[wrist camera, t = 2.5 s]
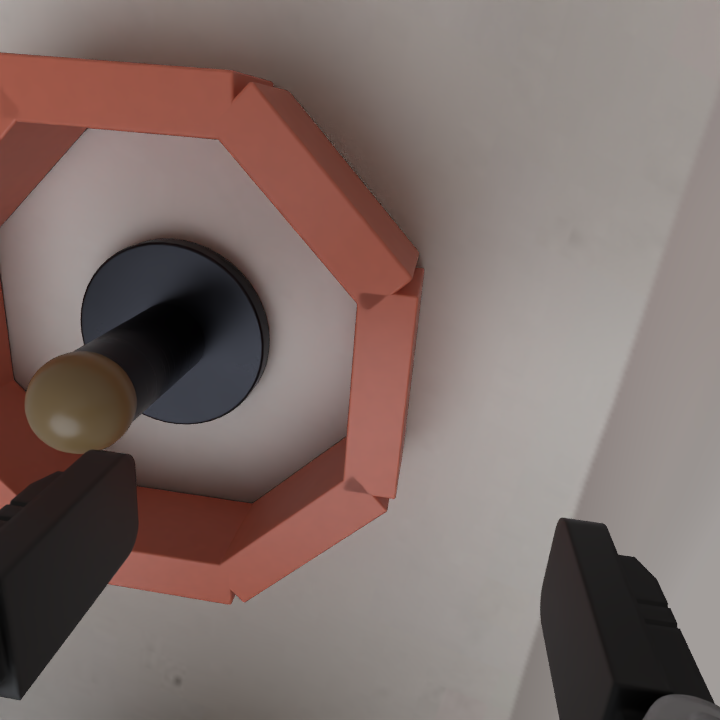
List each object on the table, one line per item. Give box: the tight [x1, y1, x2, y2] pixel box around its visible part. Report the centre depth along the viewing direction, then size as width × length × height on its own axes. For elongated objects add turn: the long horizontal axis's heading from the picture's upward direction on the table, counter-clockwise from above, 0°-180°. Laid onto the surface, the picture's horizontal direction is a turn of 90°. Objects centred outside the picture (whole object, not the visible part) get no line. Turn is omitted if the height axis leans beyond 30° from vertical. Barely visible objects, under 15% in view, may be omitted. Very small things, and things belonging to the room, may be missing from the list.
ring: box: [0, 52, 424, 604], centre depth 20 cm, size 16×16×4 cm
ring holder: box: [24, 239, 269, 454], centre depth 18 cm, size 6×6×7 cm
